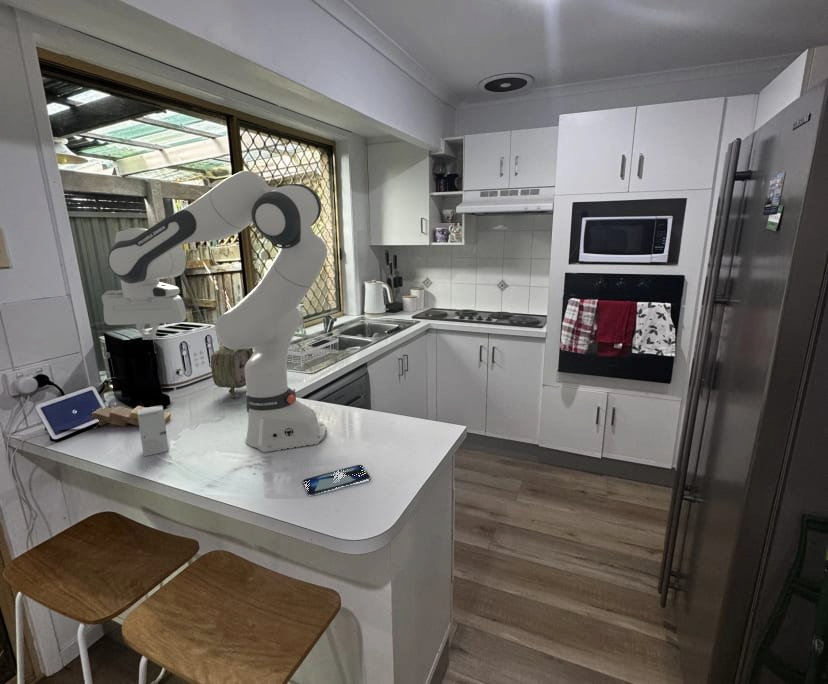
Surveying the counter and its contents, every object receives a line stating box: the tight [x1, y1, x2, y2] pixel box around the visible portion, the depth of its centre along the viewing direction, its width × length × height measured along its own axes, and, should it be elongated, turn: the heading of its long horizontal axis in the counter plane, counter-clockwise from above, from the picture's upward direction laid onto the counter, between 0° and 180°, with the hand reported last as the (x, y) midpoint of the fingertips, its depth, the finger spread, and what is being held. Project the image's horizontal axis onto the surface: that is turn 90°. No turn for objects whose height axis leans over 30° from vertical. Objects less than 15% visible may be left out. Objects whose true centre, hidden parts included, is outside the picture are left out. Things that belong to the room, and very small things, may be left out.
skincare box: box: [137, 405, 169, 457], centre depth 116 cm, size 6×4×12 cm
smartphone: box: [301, 464, 371, 496], centre depth 102 cm, size 7×1×15 cm
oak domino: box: [129, 405, 172, 424], centre depth 135 cm, size 2×5×10 cm
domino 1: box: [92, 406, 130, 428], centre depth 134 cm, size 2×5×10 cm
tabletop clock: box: [210, 345, 254, 399], centre depth 158 cm, size 14×9×25 cm, turn 170°
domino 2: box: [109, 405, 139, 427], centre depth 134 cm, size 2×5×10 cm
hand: (149, 339), depth 120 cm, fingers closed
